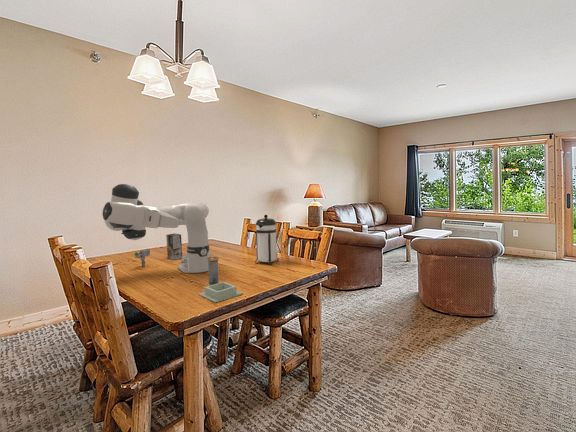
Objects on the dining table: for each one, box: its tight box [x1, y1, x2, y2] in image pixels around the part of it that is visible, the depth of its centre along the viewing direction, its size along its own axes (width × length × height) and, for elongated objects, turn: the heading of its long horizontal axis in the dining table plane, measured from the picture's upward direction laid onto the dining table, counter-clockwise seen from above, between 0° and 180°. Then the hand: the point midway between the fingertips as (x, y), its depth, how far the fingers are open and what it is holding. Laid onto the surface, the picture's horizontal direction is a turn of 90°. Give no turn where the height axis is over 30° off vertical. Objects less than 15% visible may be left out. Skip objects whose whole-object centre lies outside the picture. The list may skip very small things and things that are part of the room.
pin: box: [207, 256, 220, 286], centre depth 149 cm, size 5×5×14 cm
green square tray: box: [198, 281, 244, 304], centre depth 138 cm, size 14×14×4 cm
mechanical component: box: [134, 248, 151, 268], centre depth 186 cm, size 3×10×10 cm, turn 158°
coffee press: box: [254, 214, 279, 266], centre depth 193 cm, size 17×16×30 cm
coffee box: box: [165, 233, 183, 261], centre depth 207 cm, size 9×6×16 cm
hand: (182, 220), depth 136 cm, fingers open, 8 cm apart
